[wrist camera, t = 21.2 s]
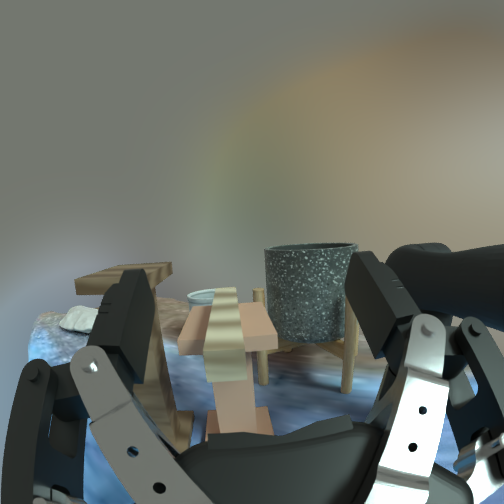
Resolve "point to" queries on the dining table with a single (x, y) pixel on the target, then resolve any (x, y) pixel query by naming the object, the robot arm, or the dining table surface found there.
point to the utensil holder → (201, 298)
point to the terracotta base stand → (234, 392)
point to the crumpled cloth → (79, 319)
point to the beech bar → (224, 339)
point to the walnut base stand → (149, 356)
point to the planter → (310, 302)
